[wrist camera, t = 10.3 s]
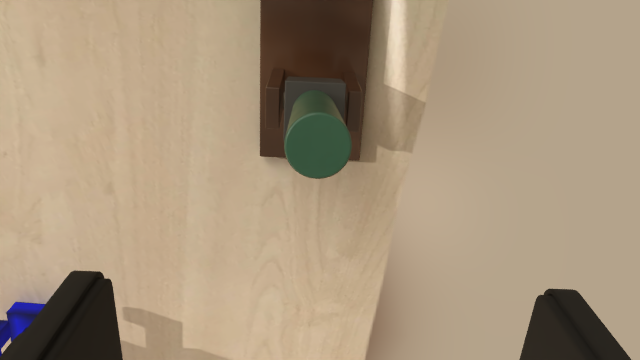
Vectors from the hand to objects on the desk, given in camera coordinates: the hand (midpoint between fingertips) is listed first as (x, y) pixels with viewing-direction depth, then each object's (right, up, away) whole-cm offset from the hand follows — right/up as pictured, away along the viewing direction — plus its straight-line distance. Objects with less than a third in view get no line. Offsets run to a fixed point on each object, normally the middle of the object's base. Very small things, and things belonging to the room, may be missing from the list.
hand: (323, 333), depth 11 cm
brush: (0, +8, +12) cm, 14 cm away
